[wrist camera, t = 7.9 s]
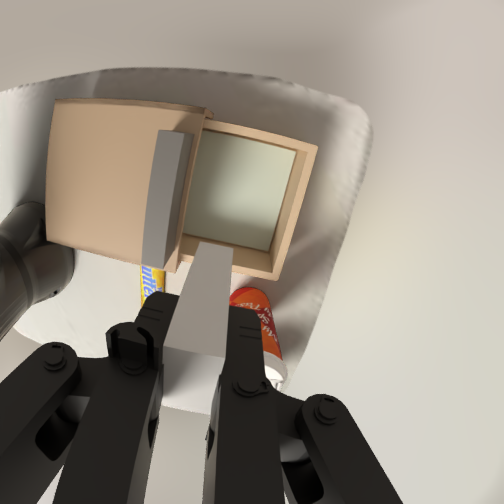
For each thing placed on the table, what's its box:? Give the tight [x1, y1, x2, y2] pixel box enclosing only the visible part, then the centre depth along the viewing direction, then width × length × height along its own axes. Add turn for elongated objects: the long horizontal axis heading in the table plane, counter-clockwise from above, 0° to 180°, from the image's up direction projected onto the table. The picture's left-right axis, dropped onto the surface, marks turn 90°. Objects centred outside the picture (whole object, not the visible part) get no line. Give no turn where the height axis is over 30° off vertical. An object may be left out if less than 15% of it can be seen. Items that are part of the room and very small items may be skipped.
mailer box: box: [179, 119, 318, 281], centre depth 27 cm, size 16×14×6 cm
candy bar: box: [140, 265, 165, 308], centre depth 36 cm, size 17×4×2 cm, turn 170°
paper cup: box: [229, 287, 288, 392], centre depth 30 cm, size 8×8×14 cm
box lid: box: [45, 98, 214, 273], centre depth 23 cm, size 16×16×10 cm
